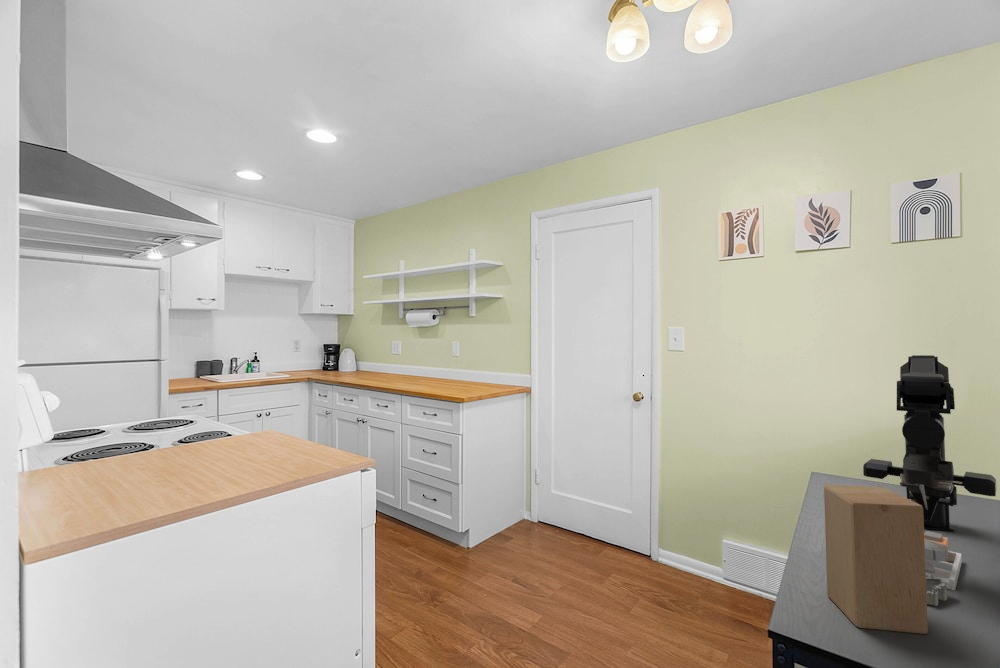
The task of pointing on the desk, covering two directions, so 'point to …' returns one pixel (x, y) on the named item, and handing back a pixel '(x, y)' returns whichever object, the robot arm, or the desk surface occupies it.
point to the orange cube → (937, 539)
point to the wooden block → (876, 558)
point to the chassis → (946, 568)
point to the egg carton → (936, 589)
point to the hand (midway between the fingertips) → (927, 520)
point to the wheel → (935, 551)
